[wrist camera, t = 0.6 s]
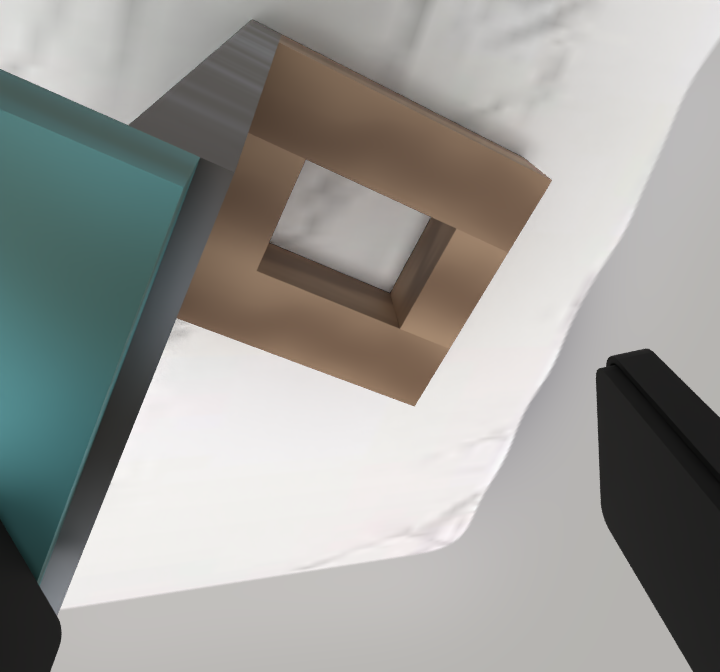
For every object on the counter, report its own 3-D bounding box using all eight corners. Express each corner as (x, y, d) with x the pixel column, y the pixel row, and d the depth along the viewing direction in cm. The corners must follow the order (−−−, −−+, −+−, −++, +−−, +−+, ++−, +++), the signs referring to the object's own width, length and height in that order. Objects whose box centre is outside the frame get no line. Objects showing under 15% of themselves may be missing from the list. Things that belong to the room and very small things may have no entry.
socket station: (211, -2, 31) (-90, 70, 7) (524, 158, 36) (983, 527, 12) (122, 256, 37) (-220, 790, 13) (403, 365, 41) (547, 907, 17)
